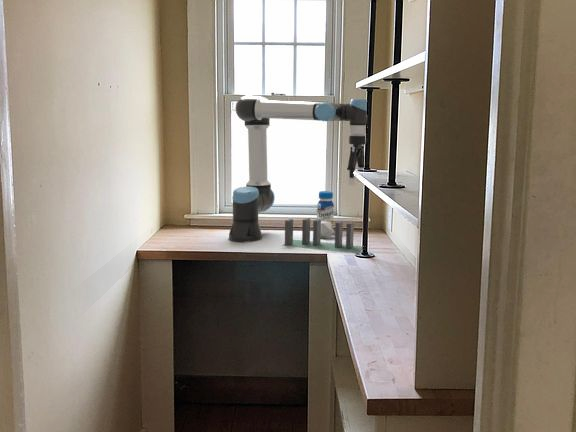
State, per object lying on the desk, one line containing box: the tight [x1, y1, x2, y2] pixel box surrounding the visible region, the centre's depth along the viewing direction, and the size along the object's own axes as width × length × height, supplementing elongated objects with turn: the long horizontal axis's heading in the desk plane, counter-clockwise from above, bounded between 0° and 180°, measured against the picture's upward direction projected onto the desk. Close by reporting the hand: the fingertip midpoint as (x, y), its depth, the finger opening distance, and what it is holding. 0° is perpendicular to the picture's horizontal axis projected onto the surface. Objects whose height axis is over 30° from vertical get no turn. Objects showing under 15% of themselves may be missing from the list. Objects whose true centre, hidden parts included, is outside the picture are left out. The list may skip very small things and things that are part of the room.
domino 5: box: [345, 221, 355, 249], centre depth 255 cm, size 2×5×11 cm, turn 158°
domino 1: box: [284, 218, 294, 247], centre depth 259 cm, size 2×5×11 cm, turn 158°
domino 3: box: [312, 218, 322, 246], centre depth 260 cm, size 2×5×11 cm, turn 158°
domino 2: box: [301, 217, 311, 245], centre depth 262 cm, size 2×5×11 cm, turn 158°
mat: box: [282, 239, 363, 255], centre depth 259 cm, size 34×14×1 cm, turn 68°
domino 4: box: [334, 220, 344, 248], centre depth 257 cm, size 2×5×11 cm, turn 158°
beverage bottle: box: [316, 190, 335, 228], centre depth 289 cm, size 8×8×20 cm
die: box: [321, 221, 335, 239], centre depth 277 cm, size 8×9×10 cm
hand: (355, 183), depth 262 cm, fingers open, 13 cm apart
